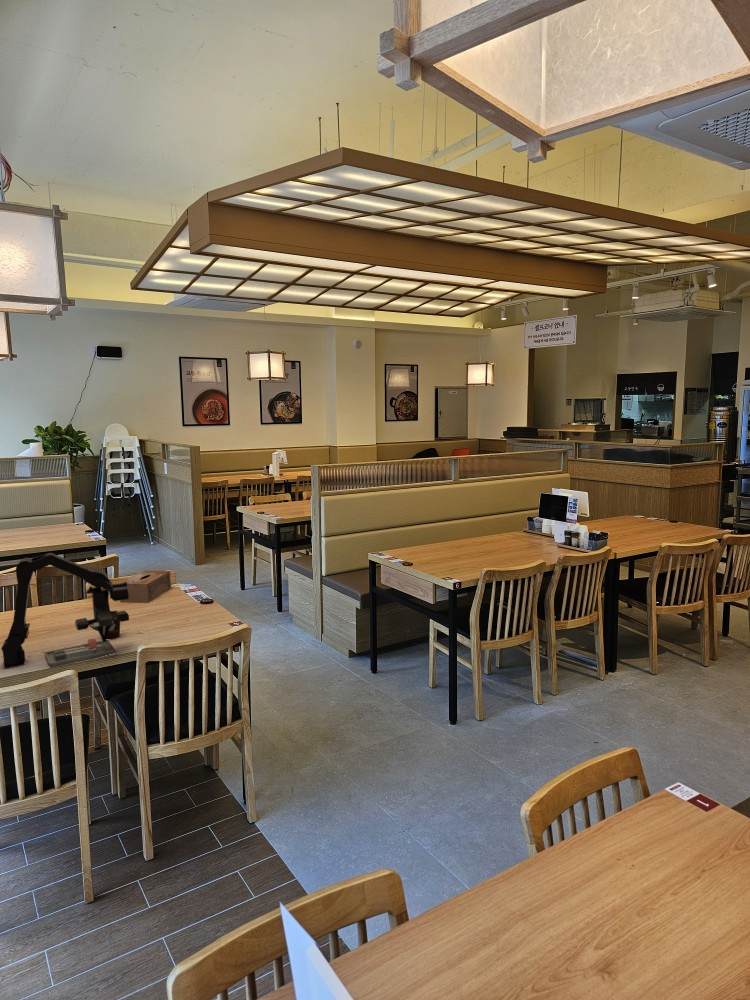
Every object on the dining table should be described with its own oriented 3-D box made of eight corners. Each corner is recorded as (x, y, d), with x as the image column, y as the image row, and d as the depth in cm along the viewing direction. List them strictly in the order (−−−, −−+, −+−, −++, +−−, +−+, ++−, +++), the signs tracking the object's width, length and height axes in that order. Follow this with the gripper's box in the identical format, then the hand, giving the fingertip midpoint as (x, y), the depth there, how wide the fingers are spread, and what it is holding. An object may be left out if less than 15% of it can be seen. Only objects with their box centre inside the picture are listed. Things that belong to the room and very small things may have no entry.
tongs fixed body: (55, 661, 233) (55, 656, 232) (54, 658, 236) (53, 652, 236) (105, 651, 243) (105, 645, 242) (103, 647, 246) (103, 642, 246)
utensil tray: (49, 668, 229) (49, 663, 228) (44, 656, 240) (44, 652, 240) (116, 653, 242) (115, 649, 241) (108, 643, 253) (107, 639, 253)
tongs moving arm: (54, 658, 235) (54, 653, 235) (53, 656, 237) (53, 651, 237) (85, 652, 241) (85, 647, 241) (85, 651, 243) (84, 645, 242)
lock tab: (90, 648, 240) (89, 642, 239) (88, 645, 243) (87, 639, 242) (96, 646, 241) (96, 640, 241) (94, 644, 244) (94, 638, 244)
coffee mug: (125, 633, 265) (123, 610, 264) (117, 640, 256) (116, 616, 255) (97, 633, 265) (96, 611, 263) (89, 641, 256) (87, 617, 255)
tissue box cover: (145, 588, 335) (144, 570, 334) (170, 589, 333) (169, 571, 332) (120, 603, 310) (119, 583, 308) (148, 603, 308) (146, 583, 307)
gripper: (78, 612, 230) (82, 653, 232) (131, 602, 240) (134, 641, 243) (73, 605, 239) (76, 644, 241) (124, 596, 250) (127, 633, 252)
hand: (104, 641), depth 244 cm, fingers closed
